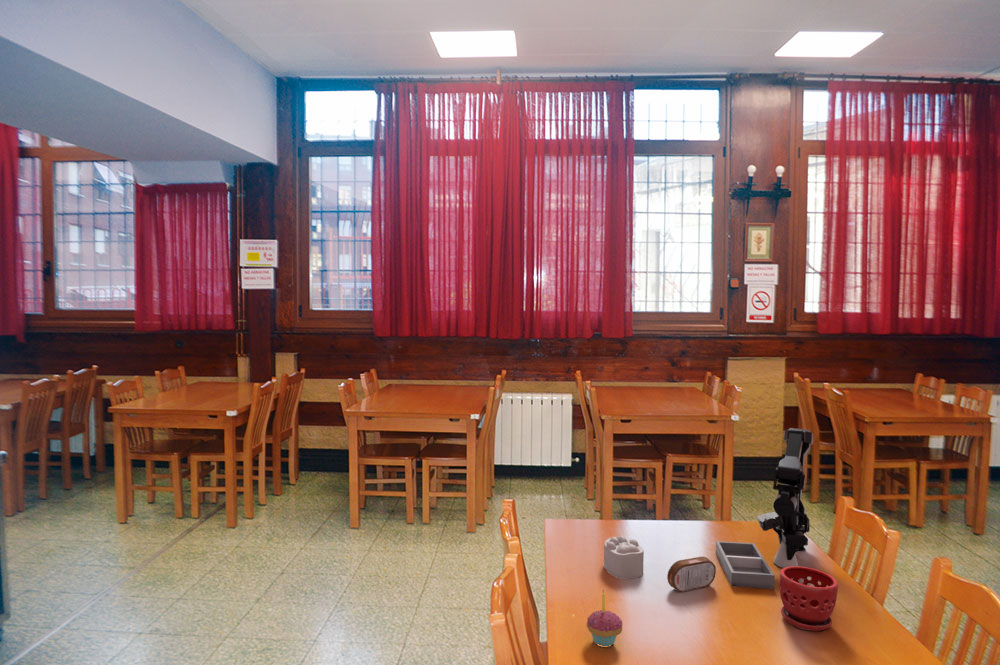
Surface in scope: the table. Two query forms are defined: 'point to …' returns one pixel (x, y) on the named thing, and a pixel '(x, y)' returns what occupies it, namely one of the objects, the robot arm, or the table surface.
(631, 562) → the lumpy-topped squat cylinder
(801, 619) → the plant pot
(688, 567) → the tin
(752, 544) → the caddy
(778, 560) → the flask
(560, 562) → the table surface
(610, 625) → the cupcake
